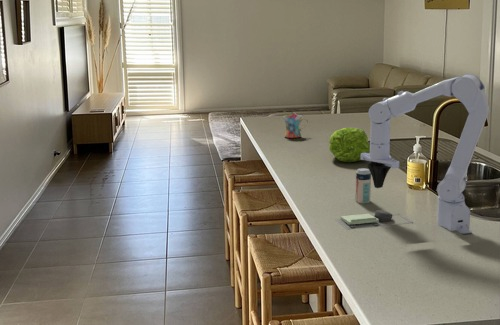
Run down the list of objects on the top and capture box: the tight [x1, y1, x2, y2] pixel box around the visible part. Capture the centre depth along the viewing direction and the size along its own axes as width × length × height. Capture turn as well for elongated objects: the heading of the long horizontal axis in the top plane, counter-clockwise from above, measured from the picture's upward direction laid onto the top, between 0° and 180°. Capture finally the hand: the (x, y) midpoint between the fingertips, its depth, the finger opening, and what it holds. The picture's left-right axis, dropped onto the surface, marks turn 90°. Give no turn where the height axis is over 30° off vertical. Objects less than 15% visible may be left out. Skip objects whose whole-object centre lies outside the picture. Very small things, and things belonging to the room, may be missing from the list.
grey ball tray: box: [336, 213, 414, 230], centre depth 190 cm, size 9×20×2 cm, turn 103°
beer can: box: [354, 167, 372, 204], centre depth 209 cm, size 5×5×12 cm
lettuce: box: [328, 127, 370, 163], centre depth 275 cm, size 17×24×14 cm
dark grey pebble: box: [373, 209, 393, 223], centre depth 191 cm, size 5×5×2 cm
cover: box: [340, 213, 380, 225], centre depth 190 cm, size 7×9×1 cm
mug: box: [283, 114, 308, 139], centre depth 323 cm, size 12×9×11 cm
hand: (378, 187), depth 195 cm, fingers closed
